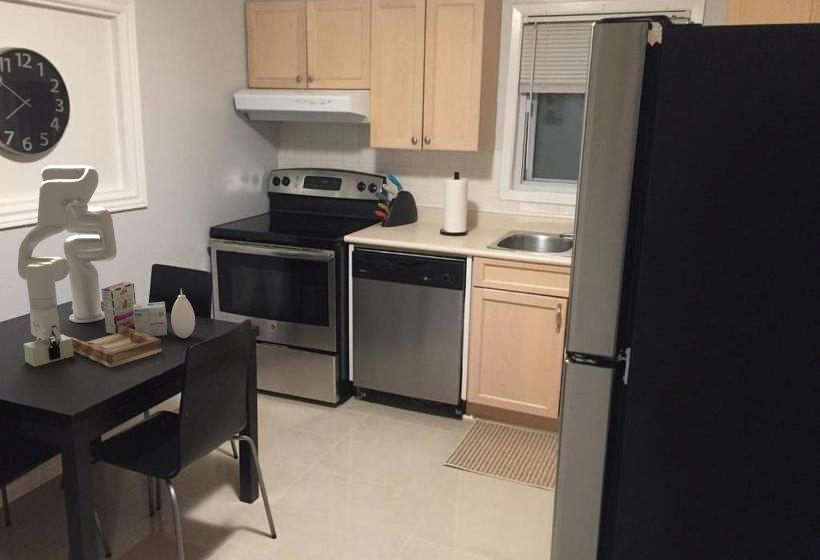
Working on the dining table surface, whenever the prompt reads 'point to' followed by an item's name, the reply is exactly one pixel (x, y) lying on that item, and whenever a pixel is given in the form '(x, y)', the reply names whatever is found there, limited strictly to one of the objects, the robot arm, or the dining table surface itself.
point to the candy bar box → (118, 306)
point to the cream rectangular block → (46, 351)
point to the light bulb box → (150, 318)
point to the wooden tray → (118, 347)
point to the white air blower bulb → (182, 317)
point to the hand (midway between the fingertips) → (49, 355)
